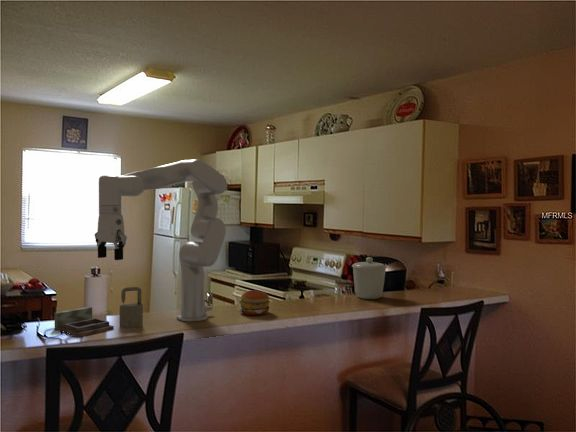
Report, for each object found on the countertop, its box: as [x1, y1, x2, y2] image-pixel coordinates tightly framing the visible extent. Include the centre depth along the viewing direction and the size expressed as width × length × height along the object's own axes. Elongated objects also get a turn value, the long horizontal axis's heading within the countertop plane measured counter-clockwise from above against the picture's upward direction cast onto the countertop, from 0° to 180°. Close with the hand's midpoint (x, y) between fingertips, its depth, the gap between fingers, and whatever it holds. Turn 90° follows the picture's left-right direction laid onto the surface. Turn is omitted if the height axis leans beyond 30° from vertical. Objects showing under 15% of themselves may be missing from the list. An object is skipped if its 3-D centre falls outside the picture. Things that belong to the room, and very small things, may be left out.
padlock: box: [119, 286, 144, 329], centre depth 190 cm, size 4×8×15 cm, turn 119°
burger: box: [238, 289, 271, 316], centre depth 216 cm, size 14×14×10 cm
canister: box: [351, 256, 388, 300], centre depth 257 cm, size 18×18×21 cm
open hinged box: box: [54, 306, 115, 338], centre depth 184 cm, size 14×16×6 cm
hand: (110, 258), depth 176 cm, fingers open, 9 cm apart
